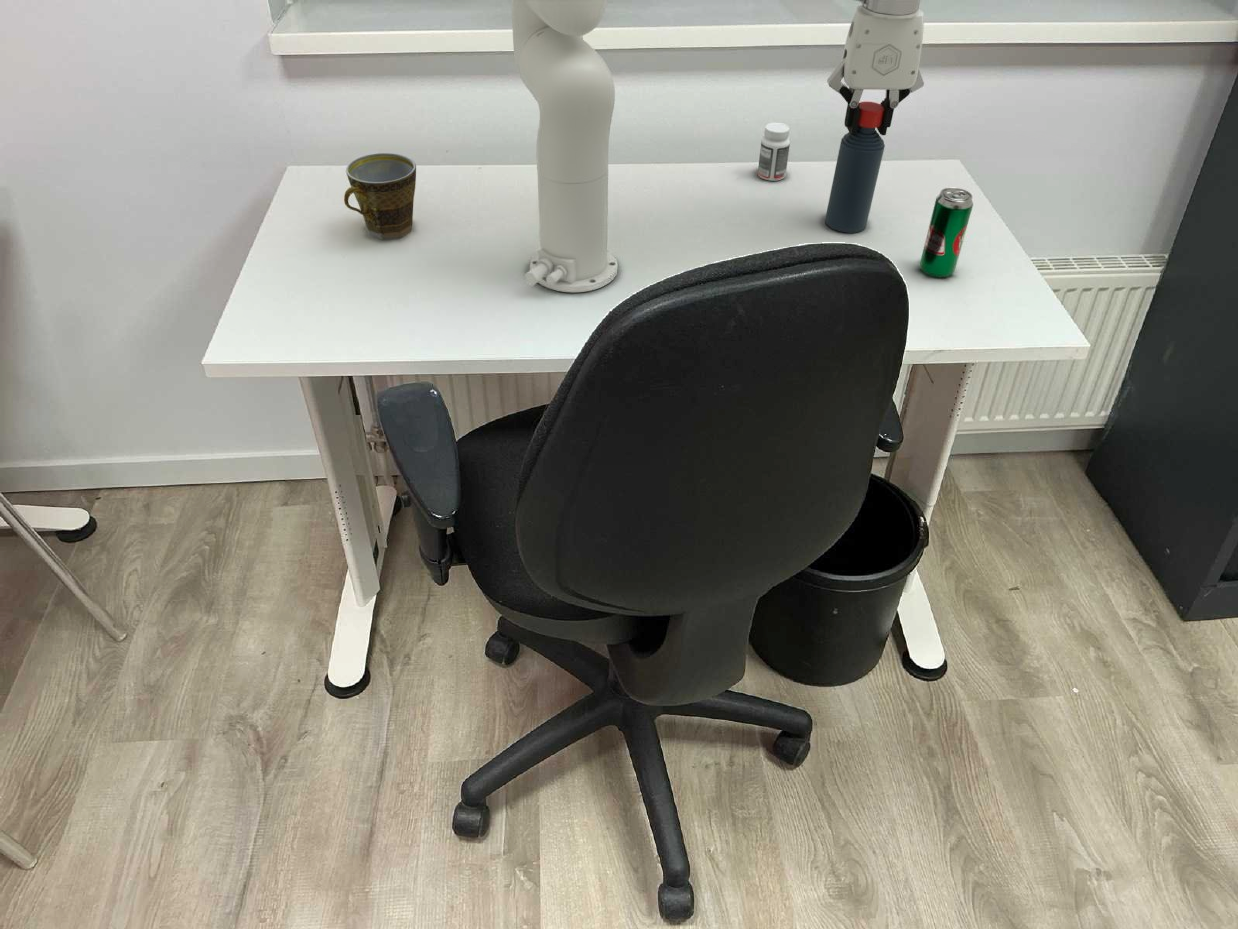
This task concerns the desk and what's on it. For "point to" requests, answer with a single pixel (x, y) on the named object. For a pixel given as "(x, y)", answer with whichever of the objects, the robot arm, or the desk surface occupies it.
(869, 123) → the cap
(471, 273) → the desk surface
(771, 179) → the pill bottle
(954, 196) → the soda can
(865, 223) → the bottle
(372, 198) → the ceramic cup
